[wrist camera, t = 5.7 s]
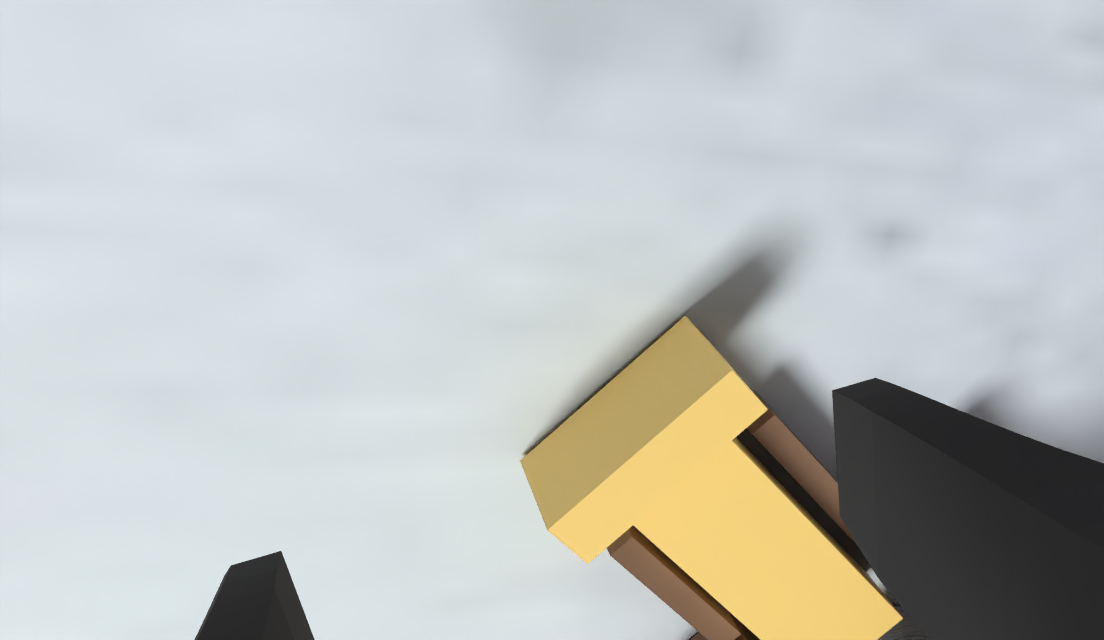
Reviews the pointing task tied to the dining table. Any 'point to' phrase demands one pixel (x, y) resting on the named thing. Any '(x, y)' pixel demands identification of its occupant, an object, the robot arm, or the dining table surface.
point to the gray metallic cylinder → (904, 629)
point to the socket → (715, 624)
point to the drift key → (700, 496)
